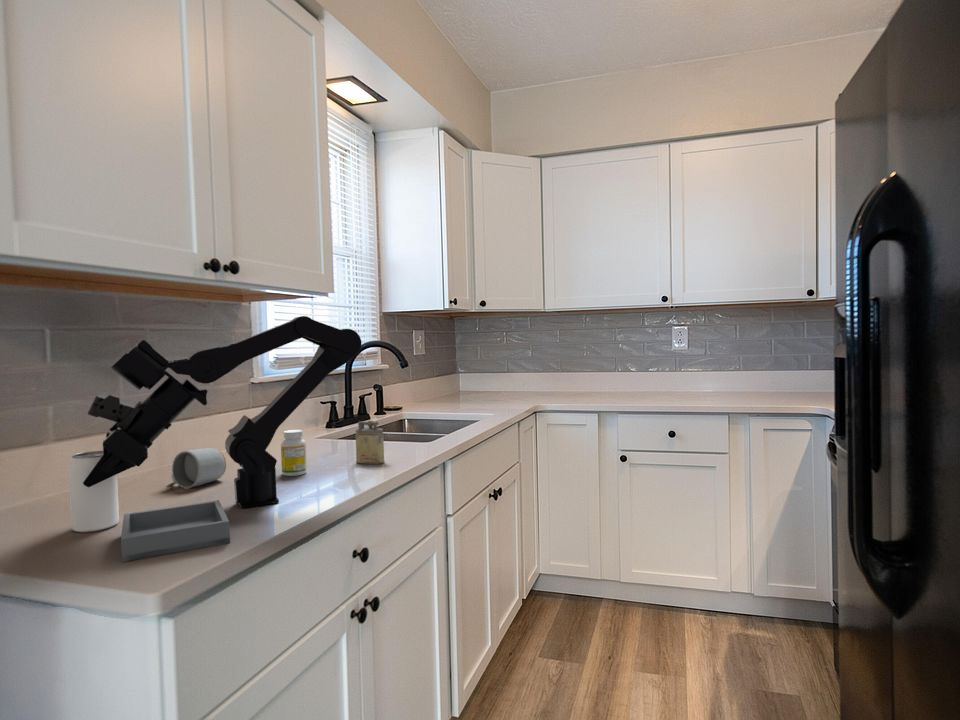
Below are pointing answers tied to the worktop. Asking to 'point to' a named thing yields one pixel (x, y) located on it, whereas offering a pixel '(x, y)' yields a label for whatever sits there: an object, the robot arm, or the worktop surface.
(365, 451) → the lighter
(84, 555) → the worktop surface
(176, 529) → the tray
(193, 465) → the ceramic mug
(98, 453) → the can
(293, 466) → the supplement bottle
